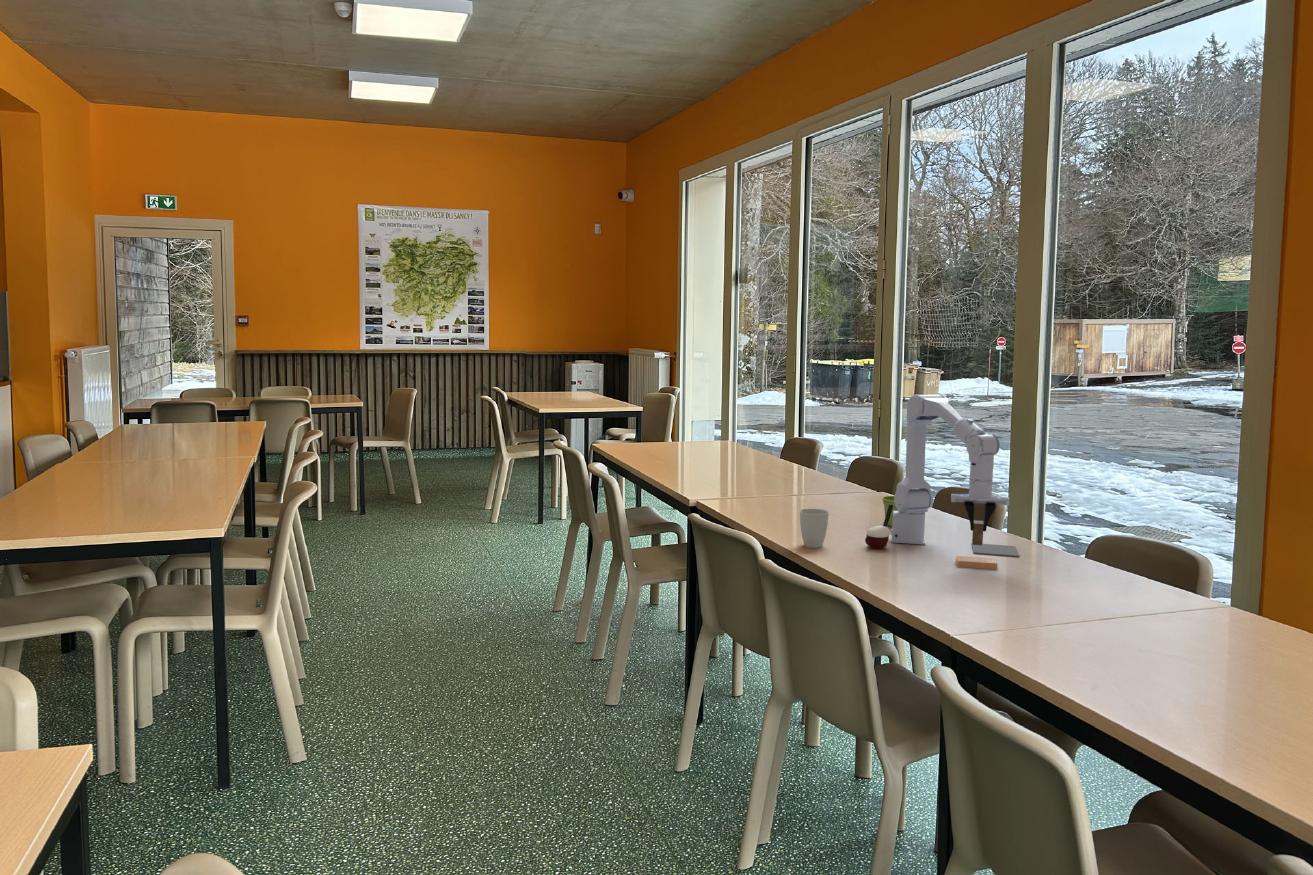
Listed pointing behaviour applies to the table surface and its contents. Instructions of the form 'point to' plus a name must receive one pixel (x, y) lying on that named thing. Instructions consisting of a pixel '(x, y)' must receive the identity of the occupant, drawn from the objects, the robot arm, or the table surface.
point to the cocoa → (879, 533)
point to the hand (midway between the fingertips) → (978, 530)
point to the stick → (978, 533)
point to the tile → (976, 562)
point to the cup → (813, 526)
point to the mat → (995, 550)
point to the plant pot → (887, 501)
